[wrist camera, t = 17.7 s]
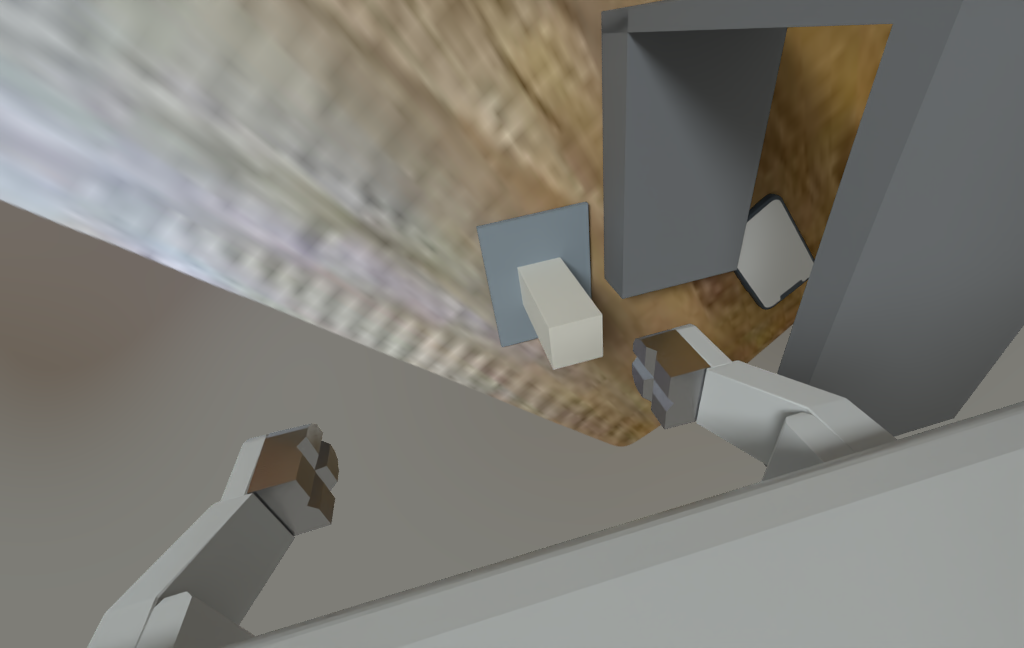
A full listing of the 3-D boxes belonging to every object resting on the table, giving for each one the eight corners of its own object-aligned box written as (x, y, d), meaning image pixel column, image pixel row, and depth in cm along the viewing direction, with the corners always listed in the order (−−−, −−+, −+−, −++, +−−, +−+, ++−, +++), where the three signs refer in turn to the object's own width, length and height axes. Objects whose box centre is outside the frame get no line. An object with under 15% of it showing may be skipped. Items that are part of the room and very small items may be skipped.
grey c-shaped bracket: (601, 11, 34) (980, -43, 12) (753, -17, 36) (1352, -112, 13) (604, 278, 50) (772, 473, 27) (710, 251, 51) (953, 418, 29)
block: (517, 267, 46) (548, 328, 36) (560, 257, 46) (602, 314, 36) (522, 304, 49) (553, 369, 39) (563, 294, 49) (602, 356, 39)
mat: (476, 226, 42) (477, 228, 42) (585, 201, 44) (588, 203, 43) (500, 344, 52) (501, 347, 51) (590, 321, 53) (592, 324, 53)
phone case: (708, 240, 51) (757, 308, 59) (716, 245, 50) (765, 314, 58) (770, 186, 49) (812, 264, 57) (780, 190, 47) (821, 270, 55)
